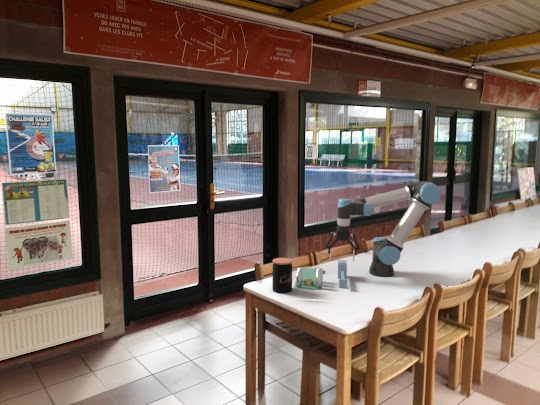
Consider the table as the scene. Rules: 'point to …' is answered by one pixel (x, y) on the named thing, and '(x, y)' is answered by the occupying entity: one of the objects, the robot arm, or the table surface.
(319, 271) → the spacers
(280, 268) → the coffee jar
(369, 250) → the table surface
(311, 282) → the brass nut
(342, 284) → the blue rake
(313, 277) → the green mat
